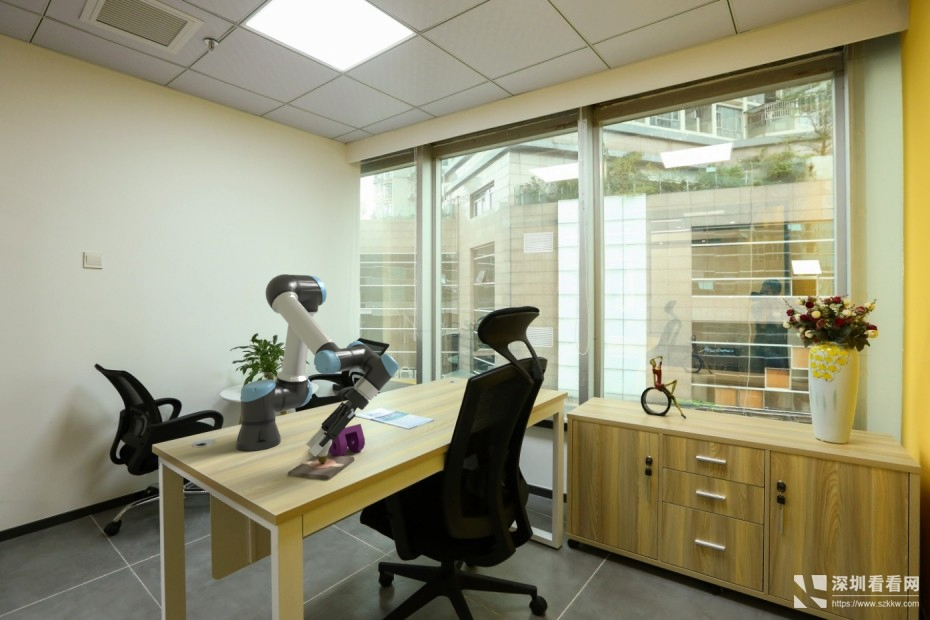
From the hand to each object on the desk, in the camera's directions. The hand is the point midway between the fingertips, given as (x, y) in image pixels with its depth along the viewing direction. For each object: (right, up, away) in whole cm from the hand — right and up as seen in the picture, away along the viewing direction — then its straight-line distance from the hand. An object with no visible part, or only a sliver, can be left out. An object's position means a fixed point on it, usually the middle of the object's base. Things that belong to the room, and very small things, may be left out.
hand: (310, 450), depth 139 cm
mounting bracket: (+3, -6, +19) cm, 20 cm away
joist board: (+3, -6, +2) cm, 7 cm away
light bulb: (+3, -5, +2) cm, 6 cm away
